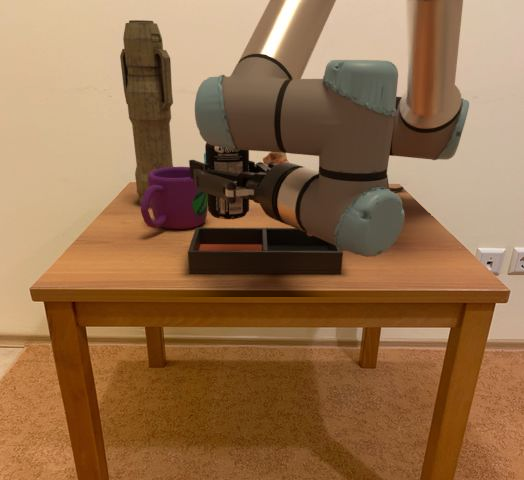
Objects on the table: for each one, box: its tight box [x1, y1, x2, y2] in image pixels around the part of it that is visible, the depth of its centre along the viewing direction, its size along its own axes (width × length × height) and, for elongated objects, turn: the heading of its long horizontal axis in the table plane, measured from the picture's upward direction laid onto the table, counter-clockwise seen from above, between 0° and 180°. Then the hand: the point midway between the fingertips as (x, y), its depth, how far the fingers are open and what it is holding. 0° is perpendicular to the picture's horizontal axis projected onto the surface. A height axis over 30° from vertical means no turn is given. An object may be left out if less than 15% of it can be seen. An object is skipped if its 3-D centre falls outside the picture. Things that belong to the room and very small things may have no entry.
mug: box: [140, 166, 208, 230], centre depth 99 cm, size 17×11×10 cm, turn 154°
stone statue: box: [119, 19, 174, 208], centre depth 108 cm, size 9×12×35 cm
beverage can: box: [204, 141, 250, 220], centre depth 79 cm, size 7×7×12 cm
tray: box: [187, 226, 344, 275], centre depth 85 cm, size 12×24×4 cm, turn 91°
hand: (212, 166), depth 82 cm, fingers closed on beverage can, 7 cm apart
